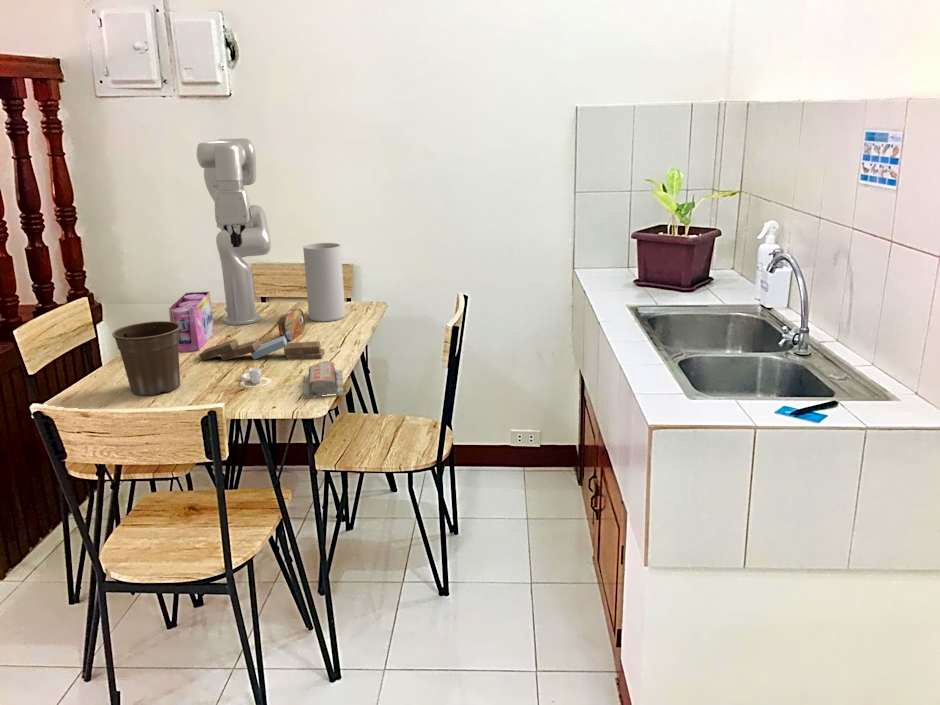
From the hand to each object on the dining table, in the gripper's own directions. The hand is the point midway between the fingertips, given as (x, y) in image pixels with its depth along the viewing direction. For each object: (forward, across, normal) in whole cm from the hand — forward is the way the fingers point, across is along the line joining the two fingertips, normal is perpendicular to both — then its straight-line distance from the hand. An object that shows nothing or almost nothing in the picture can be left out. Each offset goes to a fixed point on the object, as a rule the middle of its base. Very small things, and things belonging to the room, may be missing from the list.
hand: (237, 246), depth 245 cm
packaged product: (+30, +33, -48) cm, 66 cm away
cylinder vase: (+29, +22, +23) cm, 43 cm away
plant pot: (+29, -11, -48) cm, 57 cm away
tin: (+29, +15, -1) cm, 33 cm away
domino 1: (+28, -7, -22) cm, 36 cm away
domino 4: (+27, +17, -22) cm, 39 cm away
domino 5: (+29, +18, -22) cm, 41 cm away
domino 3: (+28, +8, -22) cm, 37 cm away
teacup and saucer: (+30, +15, -42) cm, 54 cm away
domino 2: (+28, 0, -22) cm, 36 cm away
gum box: (+29, -15, -4) cm, 33 cm away
